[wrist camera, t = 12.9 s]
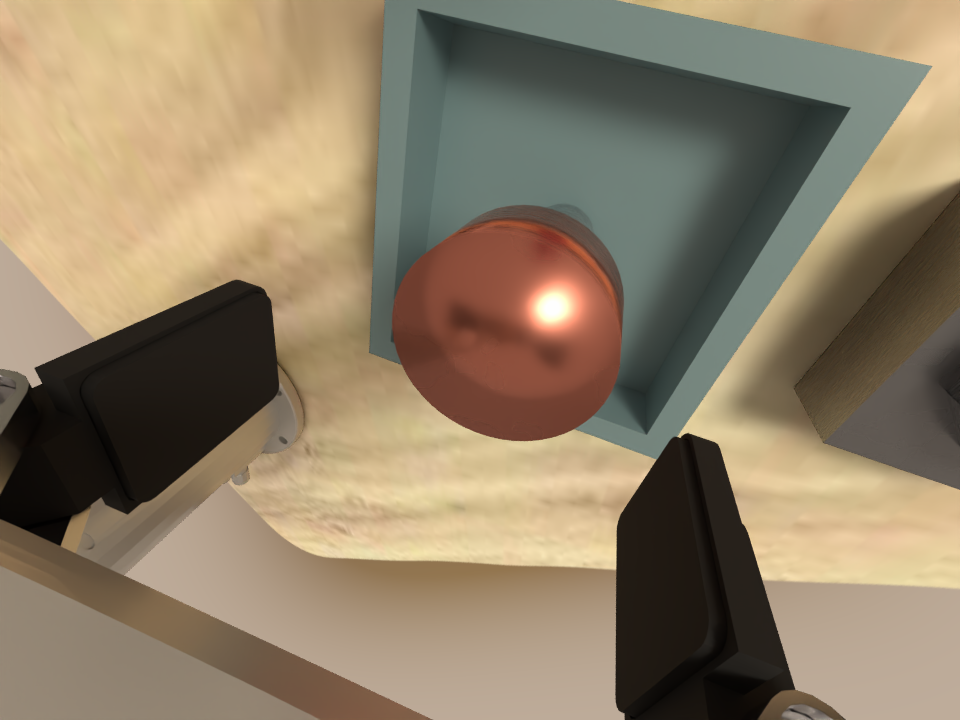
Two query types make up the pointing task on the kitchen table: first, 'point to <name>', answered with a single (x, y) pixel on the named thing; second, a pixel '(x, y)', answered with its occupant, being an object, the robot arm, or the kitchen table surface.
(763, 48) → the tray
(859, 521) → the kitchen table surface
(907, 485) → the kitchen table surface
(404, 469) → the kitchen table surface
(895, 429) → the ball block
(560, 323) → the rounded copper knob
